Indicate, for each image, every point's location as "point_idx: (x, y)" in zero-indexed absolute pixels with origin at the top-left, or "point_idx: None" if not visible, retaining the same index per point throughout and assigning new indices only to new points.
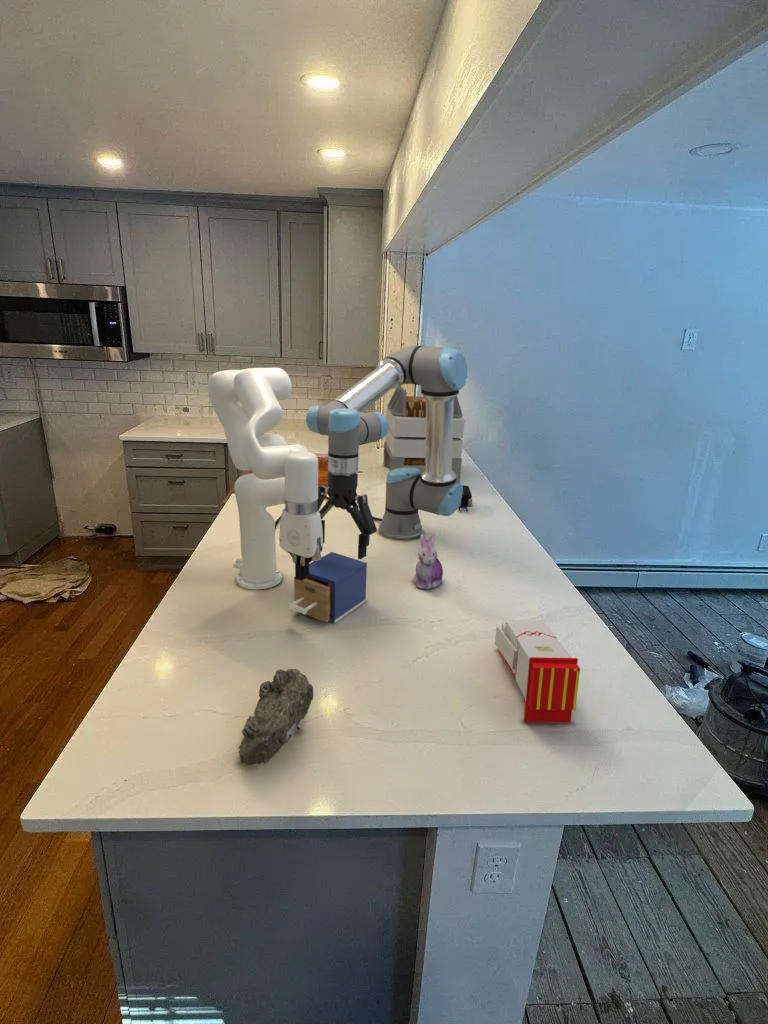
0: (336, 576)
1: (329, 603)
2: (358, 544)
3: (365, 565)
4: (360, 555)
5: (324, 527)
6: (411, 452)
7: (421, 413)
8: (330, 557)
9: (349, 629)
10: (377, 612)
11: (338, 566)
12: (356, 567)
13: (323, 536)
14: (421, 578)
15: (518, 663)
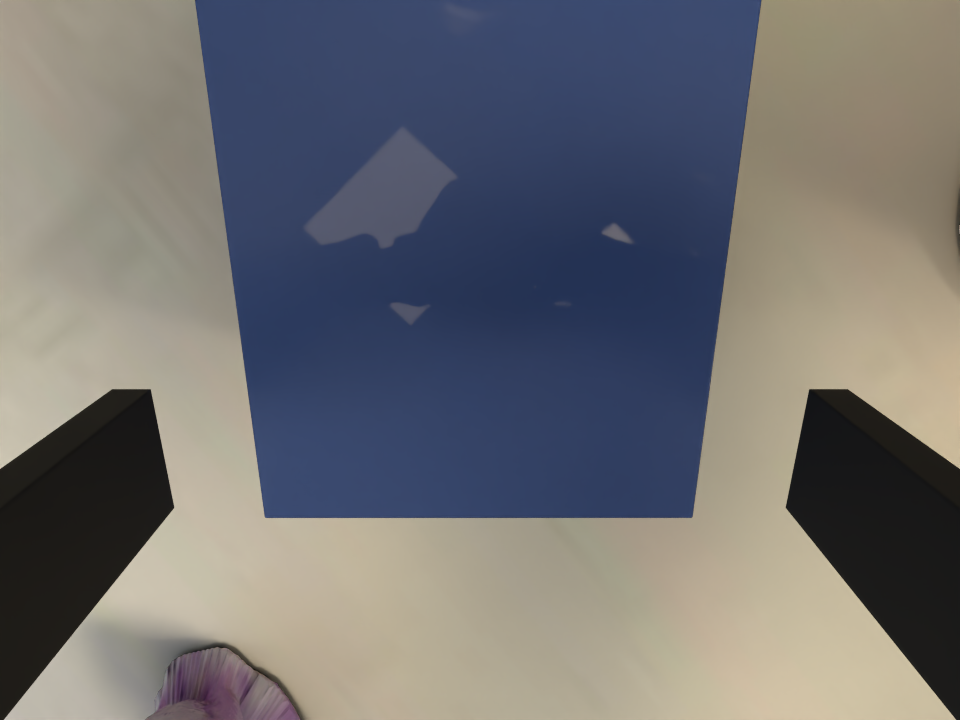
0: (277, 65)
1: None
2: (10, 500)
3: (267, 486)
4: (81, 413)
5: (932, 681)
6: None
7: None
8: (628, 411)
9: (193, 15)
10: (209, 305)
11: (427, 290)
12: (269, 382)
13: (842, 549)
14: (195, 701)
15: None
